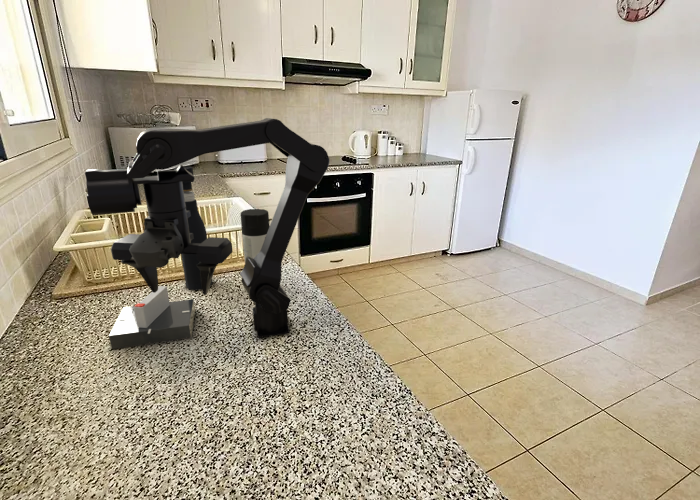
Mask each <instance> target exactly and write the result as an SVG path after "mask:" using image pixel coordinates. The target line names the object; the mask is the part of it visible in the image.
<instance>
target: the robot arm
mask: <svg viewBox="0 0 700 500" xmlns="http://www.w3.org/2000/svg"><path fill="white" fill-rule="evenodd" d="M265 144H270V145H271V146H273V147H274V149H276V150H278V152H280V153H281V154H282V155H284V156H285V157H286V158H287V160H286V165H285V183H284V188H283V190H282V193H281V196H280V198H279V201H278V204H277V206H276V209H275V211H274V214H273V217H272V219H271V222H270V223H269V225H270V227H269V229H268V232H267V235H266V237H265V240H264V243H263V245H262V248H261V250H260V252H259V253H258V254H257V255H256V256H255V257H254V258H250V257H247V258H246V261H245V260H244V267H243V268H242V270H241V271H240V272H239V275H240V276H241V284H242V287H243V288H244V290H245V292H246V294H247V295H248V297H249V299H250V301H251V302H253V304H254V307H252V308H251V309H252V321H253V330H254V331H255V332H256V337H257V338H258V339H261V338H263V339H264V338H269V337H276V336H282V335H289V334H290V333H291V329H290V326H289V316H288V315H289V314H288V309H289V307H290V304H291V301H292V300H291V298H290V297H289V295H288V294H287V292H286V291H285V290H284V288H283V287H282V286H281V281H282V263H283V259H284V256H285V254H286V251H287V249H288V246H289V244H290V241H291V239H292V236H293V234H294V231H295V229H296V226H297V224H298V220H299V218H300V216H301V213H302V211H303V209H304V206H305V203H306V201H307V198H308V196H309V194H310V193H311V192H312V191H313V190H314V189H315V188H316V187H317V186H318V185H319V184H320V182H321V181H322V179H323V177H324V176H325V174H326V172H327V170H328V168H329V165H330V157H329V154H328V151H327V150H326V148H324V147H322V146H321V145H318V144H315V143H311V142H309V141H308V140H306V139H304V138H303V137H302V136H300V135H299V134H297V133H296V132H294V131H293V130H292V129H291V128H289V127H288V126H286V125H285V123H284V122H283V121H281V120H279V119H278V118H271V117H266V118H263V119H261V120H254V121H248V122H247V121H246V122H241V123H235V124H234V123H233V124H225V125H219V126H213V127H205V128H199V129H188V128H187V129H186V128H166V127H150V128H147V129H145V130H143V131H141V132H140V134H139V135H138V137H137V140H136V145H135V146H136V147H135V148H136V154H135V156H134V157H133V159H132V160H131V161H128V166H127V168H121V169H98V168H91V169H90V168H89V169H86V171H85V172H84V176H85V179H86V180H85V181H86V183H85V184H86V190H87V192H86V200H87V205H88V208H89V211H90V213H91V215H92V216H105V215H115V214H126V213H127V214H128V213H135V212H136V209H138V206H142V205H143V204H142V198H141V190H140V185H142V187H143V193H144V197H145V203H146V209H147V214H148V215H147V217H145V218H143V221H144V222H143V226H144V229H143V232H142V233H141V234H137V233H129V234H127V235H125V236H123V237H121V238H119V239H118V240H116V241H114V242H113V243H112V245H111V246H110V254H111V257H112V260H114V261H120V263H121V264H123V265H127V266H130V267H132V268H134V269H135V270H136V271H137V272H138V274H139V275H140V276H141V277H142V279H143V280H144V282H145V283H146V285H147V286H148V287H149V289H150V291H151V292H153V293H155V292H157V291H158V286H159V275H158V269H160V268H165V267H166V266H167V265H168V264H169V262H170V260H171V259H179V258H180V256H181V254H195V255H197V259H198V260H199V261H200V263H198V264H197V267H198V268H199V269H200V273H201V286H202V290H201V291H202V295H203V296H206V295H207V294H208V293H209V290H210V288H211V286H210V283H211V280H212V281H213V276H214V274H215V270H216V268H217V266H218V265H220V264H223V263H224V262H225V261H226V260H227V258H229V256H230V255H231V254H233V243H232V241H231V240H230V239H229V238H228V237H214V236H213V237H211V236H209V237H208V236H207V239H206V240H205V241H203V242H202V243H191V240H192V239H194V236H193V233H189V226H188V219H187V218H189V217H190V216H191V214H190V211H188V210H186V205H185V198H184V191H183V184H182V181H193V180H194V181H195V176H193V175H194V174H193V175H192V173H190V172H188V171H187V170H186V169H185V168H184V167H183V166H184V163H187V162H188V161H191V160H192V159H195V158H197V157H200V156H202V155H206V154H212V153H218V152H224V151H229V150H230V151H231V150H235V149H241V148H247V147H253V146H254V147H255V146H259V145H265ZM173 167H178V168H177V169H176V170H174V169H170V168H173ZM155 170H157V171H156V173H157V175H152V176H151V175H150V174H152V172H154V171H155ZM149 175H150V176H149Z"/></svg>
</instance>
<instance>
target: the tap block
mask: <svg viewBox="0 0 700 500" xmlns="http://www.w3.org/2000/svg"><path fill="white" fill-rule="evenodd" d="M134 307H135V305H131V306H123V307H122V309H121V311H120V312H119V315H118V317H117V319H116V321H115V323H114V325H113V327H112V329H111V331H110V333H109V334H108V340H109V343H110V347H111V350H115V349H123V348H131V347H137V346H144V345H151V344H159V343H166V342H172V341H180V340H187V339H192V335H193V328H194V321H195V316H196V305H195V300H194V298H193V299H185V300H175V301H170V306H169V307H168V308H166V309H165V310H164V311H163V312H162V313H161V314H160V315H159V316H158V317H157V318H156V319H155V320H154V321H153V322H152V323H151V324H150V325H149V326H148V327H147V328H138V326H137V321H136V316H135V312H134Z"/></svg>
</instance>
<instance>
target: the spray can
mask: <svg viewBox="0 0 700 500" xmlns="http://www.w3.org/2000/svg"><path fill="white" fill-rule="evenodd" d="M240 226H241V237H242V247H243V257H244V262H245V261H246V258H247V257H250V258H254V257H255V256H256V255H257V254H258V253H259V252H260V250H261V248H262V245H263V243H264V240H265V237H266V235H267V232H268V229H269V227H270V215H269V211H268V210H267V209H264V208H249V209H244V210H242V211H241V212H240Z"/></svg>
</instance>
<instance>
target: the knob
mask: <svg viewBox="0 0 700 500" xmlns="http://www.w3.org/2000/svg"><path fill="white" fill-rule="evenodd" d="M170 302H171V301H170V297H169V291H168V286H167V285H165V286H164V285H158V291H157V292H155V293H153V292H152V291H151V292H150V293H149V294H147V295H145V297H144V298H143V299H141V300H140V302H137V303H136V304H134V306H135V307H134V312H135V316H136V321H137V326H138V328H147V327H148V326H149V325H150V324H151V323H152V322H153V321H154V320H155V319H156V318H157V317H158V316H159V315H160V314H161V313H162V312H163V311H164V310H165V309H166V308H168V307H169V306H170Z"/></svg>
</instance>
